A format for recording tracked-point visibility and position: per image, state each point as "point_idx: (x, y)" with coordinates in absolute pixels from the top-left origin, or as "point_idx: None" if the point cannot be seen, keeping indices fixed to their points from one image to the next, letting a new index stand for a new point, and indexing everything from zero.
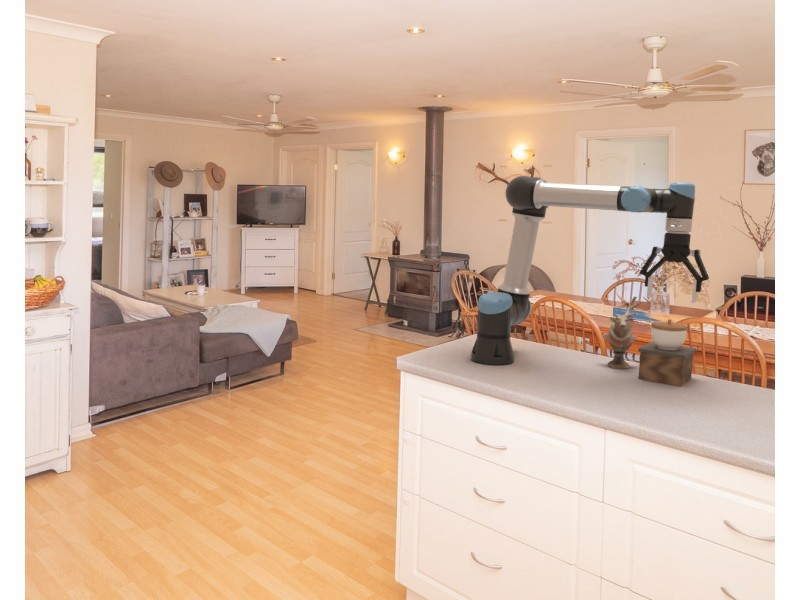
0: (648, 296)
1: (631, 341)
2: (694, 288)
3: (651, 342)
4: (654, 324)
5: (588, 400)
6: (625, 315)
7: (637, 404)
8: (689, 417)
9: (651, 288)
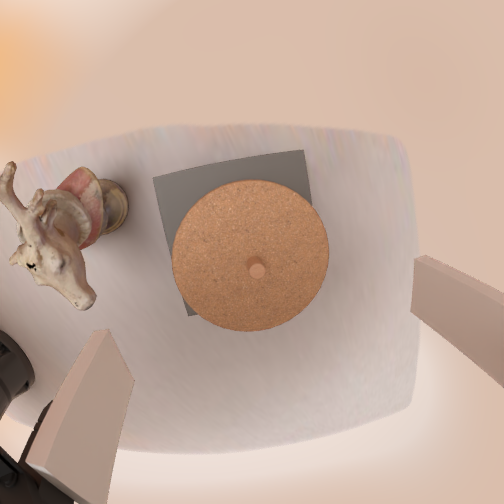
0: (129, 385)
1: (101, 211)
2: (478, 355)
3: (159, 190)
4: (212, 321)
5: (227, 430)
6: (34, 246)
7: (282, 402)
8: (350, 387)
9: (96, 393)
